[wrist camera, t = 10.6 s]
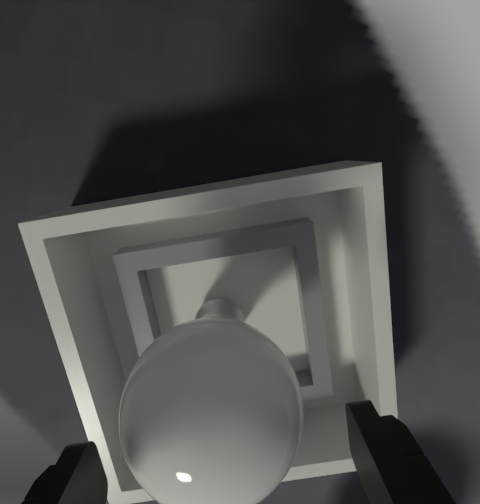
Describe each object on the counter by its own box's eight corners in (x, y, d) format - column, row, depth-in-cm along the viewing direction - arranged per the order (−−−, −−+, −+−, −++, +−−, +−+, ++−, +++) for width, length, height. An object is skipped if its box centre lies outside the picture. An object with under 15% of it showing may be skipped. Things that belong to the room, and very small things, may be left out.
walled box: (70, 206, 20) (17, 223, 15) (345, 160, 20) (381, 162, 15) (135, 434, 24) (110, 506, 19) (366, 400, 23) (400, 464, 18)
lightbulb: (186, 245, 20) (131, 346, 9) (294, 287, 20) (364, 428, 10) (147, 345, 21) (60, 538, 10) (250, 381, 22) (267, 597, 11)
